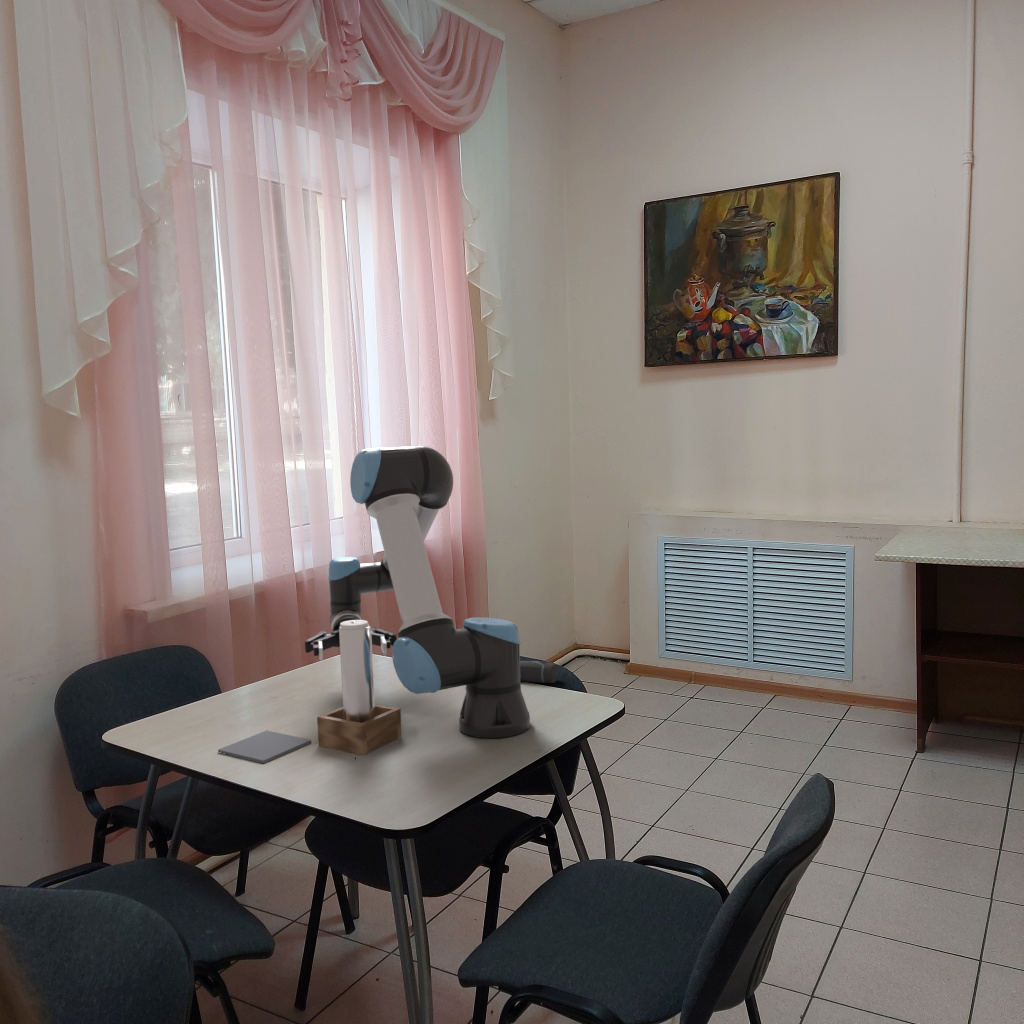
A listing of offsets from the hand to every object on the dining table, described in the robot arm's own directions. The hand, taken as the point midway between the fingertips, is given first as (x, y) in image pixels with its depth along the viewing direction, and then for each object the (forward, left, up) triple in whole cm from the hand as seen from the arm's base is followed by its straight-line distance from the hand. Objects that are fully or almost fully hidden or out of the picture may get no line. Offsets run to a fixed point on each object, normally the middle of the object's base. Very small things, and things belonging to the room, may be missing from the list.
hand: (353, 651), depth 197 cm
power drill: (-13, -43, -17) cm, 48 cm away
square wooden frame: (-7, +7, -16) cm, 19 cm away
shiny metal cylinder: (-7, +7, -17) cm, 19 cm away
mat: (+8, +19, -16) cm, 26 cm away
